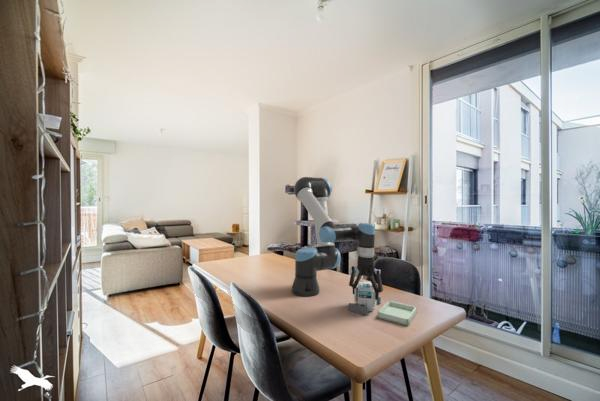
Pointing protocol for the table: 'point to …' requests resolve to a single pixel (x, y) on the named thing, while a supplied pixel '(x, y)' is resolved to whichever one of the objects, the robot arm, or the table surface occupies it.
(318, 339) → the table surface
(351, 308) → the grey bars
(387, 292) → the table surface
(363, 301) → the light bulb box
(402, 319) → the tray
